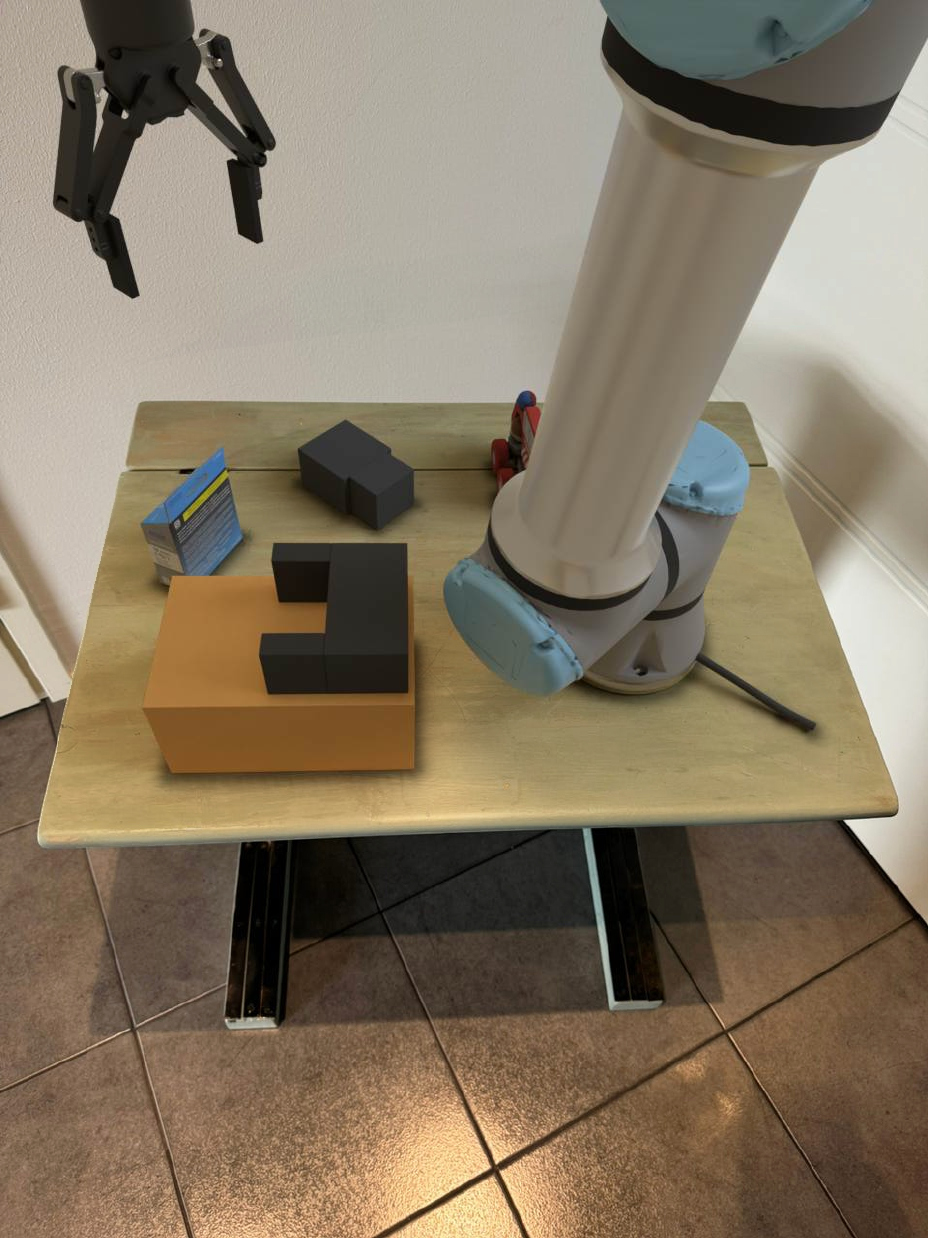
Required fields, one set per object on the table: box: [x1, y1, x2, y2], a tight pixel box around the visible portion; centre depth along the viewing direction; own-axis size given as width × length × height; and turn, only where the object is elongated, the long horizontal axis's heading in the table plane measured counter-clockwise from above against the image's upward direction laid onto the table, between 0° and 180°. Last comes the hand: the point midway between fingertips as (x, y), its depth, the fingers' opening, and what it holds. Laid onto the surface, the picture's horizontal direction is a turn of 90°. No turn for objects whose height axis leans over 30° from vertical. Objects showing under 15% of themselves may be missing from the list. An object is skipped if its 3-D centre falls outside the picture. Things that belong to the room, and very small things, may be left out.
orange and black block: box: [141, 542, 416, 774], centre depth 68 cm, size 20×13×15 cm, turn 93°
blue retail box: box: [140, 445, 244, 587], centre depth 79 cm, size 9×4×12 cm, turn 155°
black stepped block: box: [297, 419, 415, 531], centre depth 89 cm, size 11×7×5 cm, turn 49°
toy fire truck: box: [490, 390, 542, 494], centre depth 90 cm, size 7×12×10 cm, turn 7°
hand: (191, 263), depth 74 cm, fingers open, 13 cm apart
